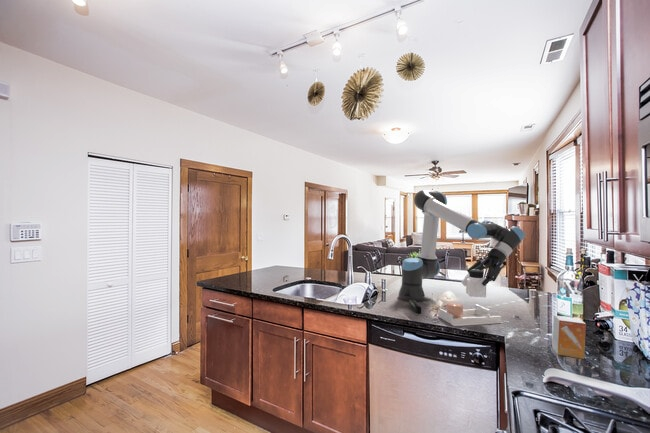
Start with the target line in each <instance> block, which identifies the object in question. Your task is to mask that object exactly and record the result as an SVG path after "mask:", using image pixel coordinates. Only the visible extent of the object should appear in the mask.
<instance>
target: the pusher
mask: <svg viewBox="0 0 650 433" xmlns="http://www.w3.org/2000/svg"><path fill="white" fill-rule="evenodd" d="M474 309H475V315H477V316H479V317H486V316H491V310H490V309H489V308H487V307H484V306H482V305H479V304H478V303H477V304H474Z"/></svg>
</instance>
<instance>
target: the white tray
mask: <svg viewBox="0 0 650 433" xmlns="http://www.w3.org/2000/svg"><path fill="white" fill-rule="evenodd" d="M436 316H437V317H439V319H442V320H443V321H445V322H447V323H449V324H451V325H452V326H454V327H460V326H462V327H463V326H475V325H477V326H478V325H488V324H489V325H493V324H503V323H504V322H502V316H501V315H490V316H486V317H479V316H477V315H475V308H472V309H471V308H469V309H463V318H454V319H453V315H452V314H450V313H448V312H447V310H445V309H443V308H439V309H438V311H437V315H436Z"/></svg>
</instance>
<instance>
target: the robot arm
mask: <svg viewBox="0 0 650 433" xmlns="http://www.w3.org/2000/svg"><path fill="white" fill-rule="evenodd" d="M413 202H414V203H413V204H414V205H415V207H417V209H419V210H421V213H422V214H423V215H424V217H423V225H422V234H421V235H422V236H421V247H420V253H419V254H418V255H417V257H409V258H405V259H403V261H402V265H401V286H400V289H399V291H398V295H397V296H398V298H399V300H402V301H406V302H409V300H410V299H413V300H415V301H416V303H420V302H424V301H425V300H426V295H425V292H424V288H423V280H426V279H432V278H435V277H437V276H438V275H439V273H440V271H441V264H440V262H439V261H438V257H437V255H436V251H437V240H438V232H439V231H438V230H439V221H440V219H441V220H443V221H445V222H446V223H448V224H450V225H452V226H453V227H456V228H457V229H459V230H460V231H463V232H465V233H466V234H467V235H468V237H470V238H471V239H475V240H482V239H483V240H484V239H492V240H495V241H497V242H496V244H494V246H493V247H492V248H491V249H490V251H489V252H487V256H486V258H483V257H480V258H479V259H478V260H477V261H476V262H475V263H473V265H471V266H470V267H469V268H468V269H467V270H466V272H467V274H466V276H465V277H464V278H463V279H462V281H460V282H461V284H462V286H463V287H466V279H467V278H469V271H470V270H481V271H484V270H486V269H487V272H486V275H485V276H483V279H482V280H481V281H480V282H479V283H478V285H477V286H476V287H475V288H476V289H477V290H478V291H479V292H480V291H481V290H482V289H483V287H484V286H486V287H487V285H488V284H489V282H495V281H496V280H497V278H498V276H499V275H500V273H501V271H502V270H503V268H504V267H505V265H504V264H503V263H504V262H505V261H506V260H507V258H508V257H510V255H511V254H512V253H513V251H514V250H515V249H516V248H517V247H518V246H519V244H521V243H522V241H523V240H524V238H525V237H526V233H525V232H524V230H523V229H521V228H520V227H518V226H511V227H509V228H507V227H504V226H502V225H499V224H498V223H494V222H493V221H491V220H483V221H482V222H480V221H478V220H476V219H474V218H472V217H470V216H468V215H466V214H465V213H462V212H461V211H458V210H456V209H455V208H453V207H450V206H448V205H447V203H448V199H447V197H446V195H445V194H444V193H443V192H441V191H438V190H428V189H426V190H425V189H422V190H419V191H418V192H417V193H415V195H414V197H413Z"/></svg>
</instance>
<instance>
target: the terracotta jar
mask: <svg viewBox="0 0 650 433" xmlns="http://www.w3.org/2000/svg"><path fill="white" fill-rule="evenodd" d="M463 310H464V305H463V304H461V303H457V302H448V303H446V311H447V312H448V313H450V314H452V315H453V319H454V318H463Z"/></svg>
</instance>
